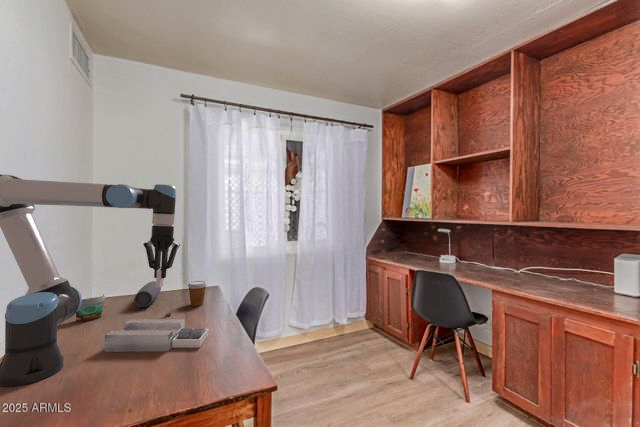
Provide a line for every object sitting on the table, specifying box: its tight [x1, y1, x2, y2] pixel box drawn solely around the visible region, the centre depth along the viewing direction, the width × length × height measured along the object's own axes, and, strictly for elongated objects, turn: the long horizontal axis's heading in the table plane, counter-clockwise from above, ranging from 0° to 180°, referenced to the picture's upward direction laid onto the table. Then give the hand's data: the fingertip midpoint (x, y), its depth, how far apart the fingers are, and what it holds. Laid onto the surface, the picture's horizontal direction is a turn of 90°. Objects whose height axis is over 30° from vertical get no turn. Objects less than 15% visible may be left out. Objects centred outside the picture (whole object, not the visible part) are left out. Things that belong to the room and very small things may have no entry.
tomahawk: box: [158, 312, 172, 319], centre depth 138 cm, size 21×7×1 cm, turn 166°
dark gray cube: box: [178, 327, 193, 340], centre depth 118 cm, size 4×4×4 cm
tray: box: [171, 328, 210, 349], centre depth 119 cm, size 11×10×3 cm
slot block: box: [104, 318, 186, 353], centre depth 117 cm, size 16×22×6 cm
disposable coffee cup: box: [187, 280, 208, 307], centre depth 166 cm, size 10×10×12 cm
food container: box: [75, 294, 106, 323], centre depth 140 cm, size 12×6×10 cm, turn 143°
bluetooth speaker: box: [134, 280, 162, 308], centre depth 167 cm, size 23×9×10 cm, turn 17°
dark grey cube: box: [191, 328, 206, 339], centre depth 119 cm, size 4×4×4 cm
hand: (159, 286), depth 116 cm, fingers closed
